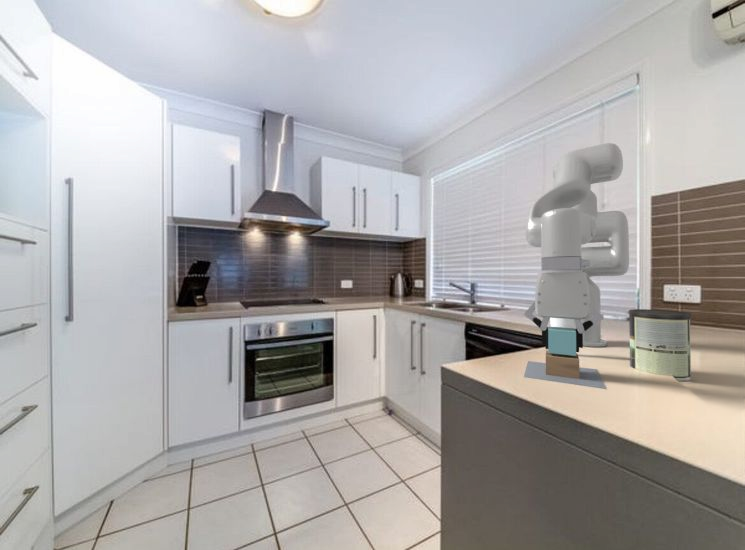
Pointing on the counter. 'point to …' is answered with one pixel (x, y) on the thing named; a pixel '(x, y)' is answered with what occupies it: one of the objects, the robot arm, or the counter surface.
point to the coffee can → (660, 342)
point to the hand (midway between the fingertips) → (561, 348)
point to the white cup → (562, 323)
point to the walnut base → (562, 365)
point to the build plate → (585, 374)
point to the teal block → (562, 341)
